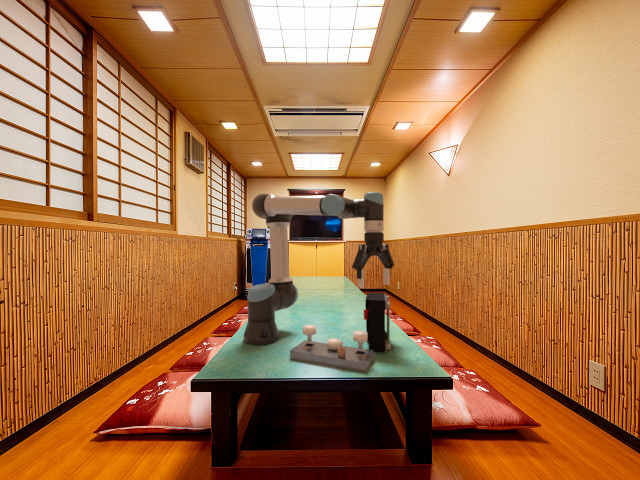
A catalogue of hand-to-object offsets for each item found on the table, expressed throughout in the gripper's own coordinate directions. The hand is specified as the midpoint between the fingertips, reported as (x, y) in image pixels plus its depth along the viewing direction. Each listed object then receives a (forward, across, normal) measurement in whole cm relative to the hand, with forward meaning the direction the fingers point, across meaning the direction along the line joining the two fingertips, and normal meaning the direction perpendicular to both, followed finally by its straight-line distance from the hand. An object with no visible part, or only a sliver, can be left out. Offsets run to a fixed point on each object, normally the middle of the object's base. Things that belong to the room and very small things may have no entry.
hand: (374, 286), depth 114 cm
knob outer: (+21, -12, -5) cm, 24 cm away
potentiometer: (+22, -20, -5) cm, 30 cm away
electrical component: (+25, +5, +4) cm, 26 cm away
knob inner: (+21, -23, +11) cm, 33 cm away
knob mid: (+24, -17, +3) cm, 30 cm away
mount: (+25, -19, +2) cm, 32 cm away
